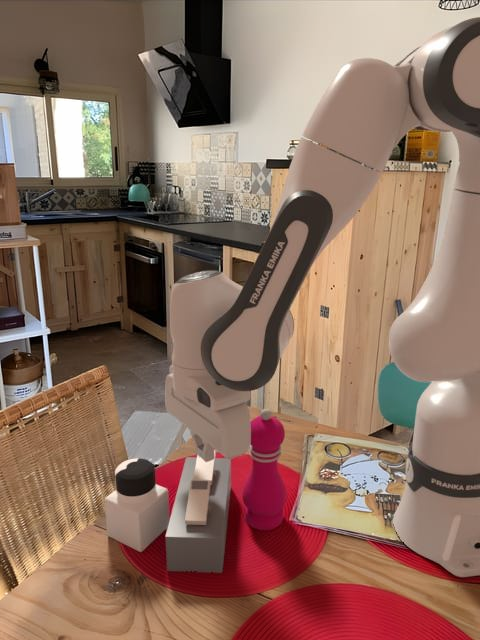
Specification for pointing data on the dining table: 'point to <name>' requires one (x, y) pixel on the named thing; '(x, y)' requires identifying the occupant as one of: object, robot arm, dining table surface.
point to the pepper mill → (265, 474)
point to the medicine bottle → (136, 505)
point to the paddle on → (197, 502)
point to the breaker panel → (200, 540)
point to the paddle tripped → (204, 469)
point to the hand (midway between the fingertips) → (205, 457)
